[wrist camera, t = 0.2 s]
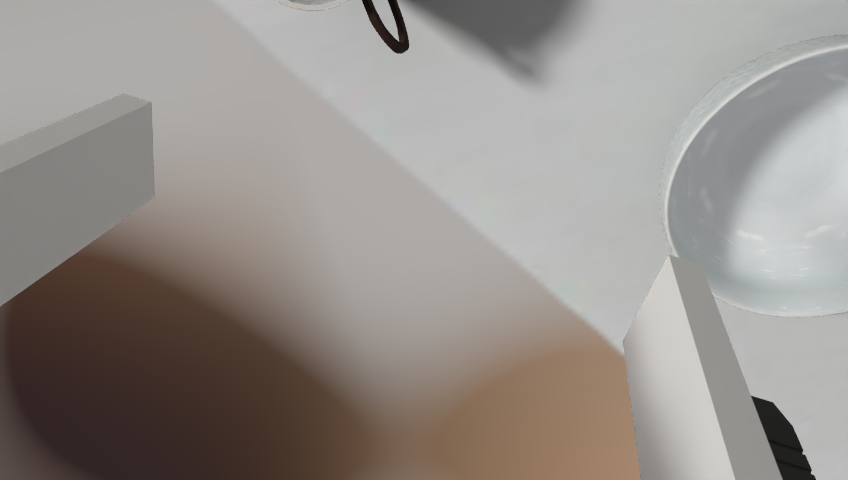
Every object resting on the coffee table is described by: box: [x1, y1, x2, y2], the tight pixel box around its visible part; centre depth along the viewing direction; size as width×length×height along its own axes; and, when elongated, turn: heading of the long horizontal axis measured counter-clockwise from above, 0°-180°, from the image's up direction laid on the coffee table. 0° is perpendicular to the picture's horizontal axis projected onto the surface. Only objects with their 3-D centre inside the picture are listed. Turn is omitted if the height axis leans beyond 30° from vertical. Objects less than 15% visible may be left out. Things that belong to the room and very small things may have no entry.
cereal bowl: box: [659, 35, 848, 318], centre depth 35 cm, size 17×17×7 cm
